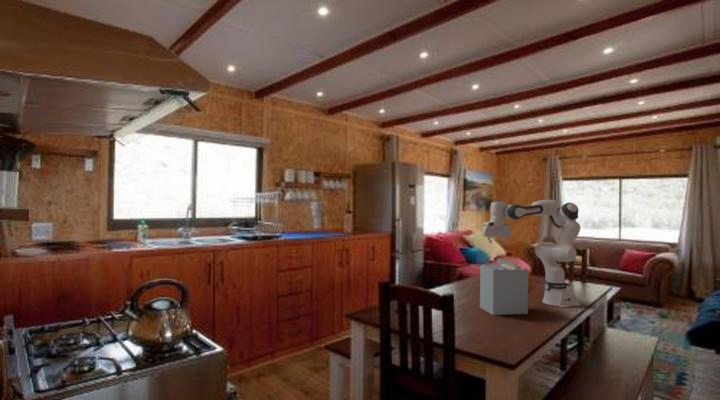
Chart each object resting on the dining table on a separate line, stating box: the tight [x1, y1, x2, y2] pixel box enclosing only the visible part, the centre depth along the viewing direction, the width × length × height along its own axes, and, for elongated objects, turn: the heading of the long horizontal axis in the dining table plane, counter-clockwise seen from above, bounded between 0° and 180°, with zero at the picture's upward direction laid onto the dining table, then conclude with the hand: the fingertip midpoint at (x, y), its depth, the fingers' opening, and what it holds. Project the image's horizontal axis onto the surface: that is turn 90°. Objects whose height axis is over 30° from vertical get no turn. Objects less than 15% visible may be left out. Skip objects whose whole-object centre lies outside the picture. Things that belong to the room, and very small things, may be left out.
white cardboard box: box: [479, 263, 529, 316], centre depth 227 cm, size 22×16×27 cm
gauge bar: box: [496, 257, 520, 268], centre depth 234 cm, size 3×20×3 cm, turn 9°
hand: (496, 243), depth 260 cm, fingers open, 8 cm apart
